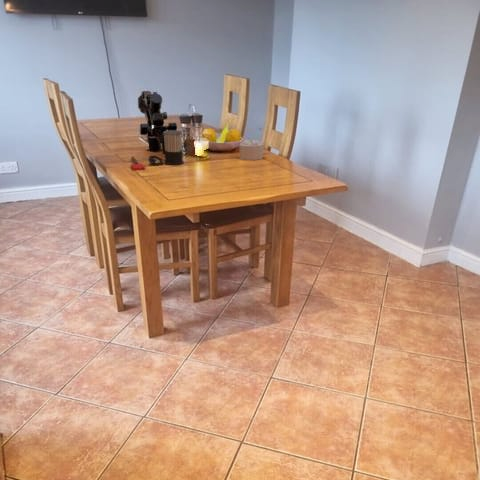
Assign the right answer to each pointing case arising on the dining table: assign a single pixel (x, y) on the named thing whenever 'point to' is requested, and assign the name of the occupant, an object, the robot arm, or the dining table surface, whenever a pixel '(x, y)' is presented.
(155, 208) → the dining table surface
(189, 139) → the tin
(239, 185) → the dining table surface
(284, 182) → the dining table surface
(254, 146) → the lumpy-topped squat cylinder
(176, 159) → the milk frother
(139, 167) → the spatula
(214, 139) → the fruit bowl
